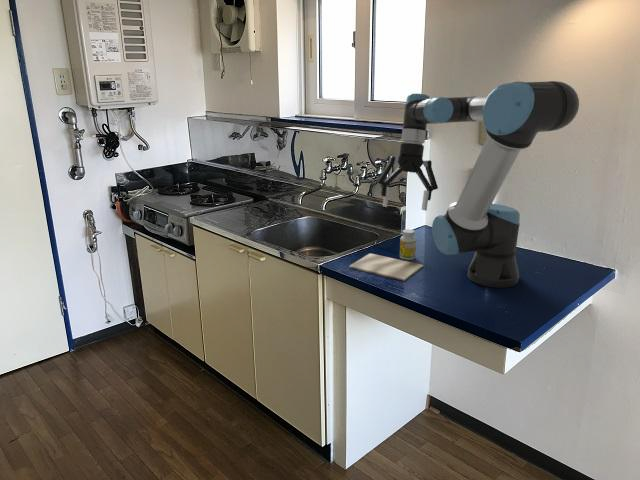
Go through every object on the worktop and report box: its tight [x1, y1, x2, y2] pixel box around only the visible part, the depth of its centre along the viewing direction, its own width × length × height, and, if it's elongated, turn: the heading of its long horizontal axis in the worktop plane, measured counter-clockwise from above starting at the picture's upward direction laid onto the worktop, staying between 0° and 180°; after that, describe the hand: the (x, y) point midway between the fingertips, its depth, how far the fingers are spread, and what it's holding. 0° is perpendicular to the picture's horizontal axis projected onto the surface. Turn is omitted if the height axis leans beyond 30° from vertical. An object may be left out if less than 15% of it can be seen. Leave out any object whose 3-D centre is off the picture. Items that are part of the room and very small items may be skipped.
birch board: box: [348, 253, 424, 282], centre depth 171 cm, size 20×14×1 cm
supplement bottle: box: [399, 228, 417, 261], centre depth 178 cm, size 5×5×10 cm
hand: (404, 208), depth 171 cm, fingers open, 13 cm apart
